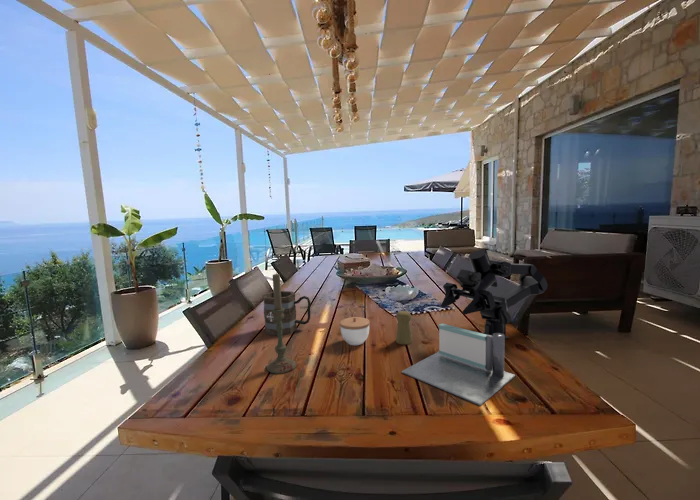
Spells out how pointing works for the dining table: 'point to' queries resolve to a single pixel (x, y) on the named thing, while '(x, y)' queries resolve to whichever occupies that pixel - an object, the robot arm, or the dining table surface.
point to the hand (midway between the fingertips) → (452, 309)
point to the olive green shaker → (403, 328)
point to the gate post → (464, 374)
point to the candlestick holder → (279, 333)
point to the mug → (289, 312)
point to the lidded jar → (355, 330)
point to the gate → (466, 346)
